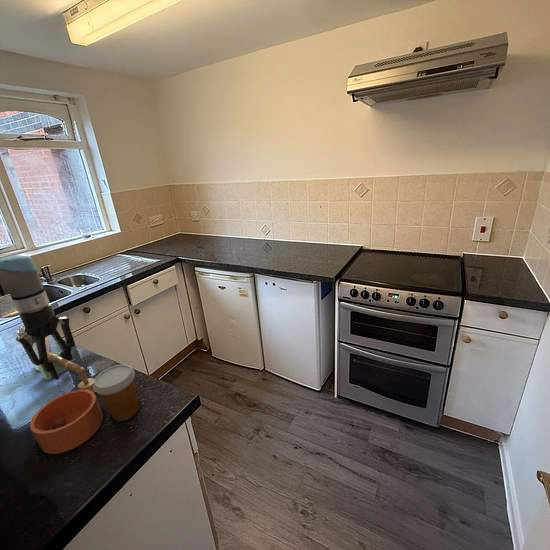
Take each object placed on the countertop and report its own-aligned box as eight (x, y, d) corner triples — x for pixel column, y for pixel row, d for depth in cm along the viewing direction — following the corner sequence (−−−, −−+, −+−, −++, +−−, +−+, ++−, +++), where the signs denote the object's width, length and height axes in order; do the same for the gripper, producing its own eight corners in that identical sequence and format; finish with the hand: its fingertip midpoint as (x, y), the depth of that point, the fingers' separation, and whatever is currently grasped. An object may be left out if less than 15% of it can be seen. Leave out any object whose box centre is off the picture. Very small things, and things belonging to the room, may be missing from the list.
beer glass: (62, 360, 104) (46, 323, 99) (41, 373, 99) (23, 334, 93) (51, 356, 107) (35, 320, 102) (29, 368, 101) (11, 331, 96)
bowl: (27, 459, 68) (16, 438, 66) (59, 412, 81) (50, 394, 79) (89, 448, 70) (80, 427, 67) (111, 404, 82) (104, 385, 80)
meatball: (51, 434, 73) (47, 426, 72) (58, 425, 76) (54, 416, 75) (63, 432, 74) (59, 424, 73) (69, 423, 76) (65, 415, 75)
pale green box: (43, 378, 96) (35, 361, 94) (63, 366, 101) (56, 351, 98) (48, 380, 95) (40, 364, 92) (67, 369, 99) (61, 353, 97)
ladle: (44, 375, 97) (35, 354, 94) (59, 367, 101) (50, 346, 98) (86, 398, 85) (76, 374, 82) (101, 388, 89) (92, 365, 86)
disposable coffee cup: (102, 411, 80) (88, 375, 76) (139, 393, 85) (127, 358, 81) (111, 433, 73) (95, 395, 69) (150, 411, 78) (138, 374, 74)
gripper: (5, 324, 77) (39, 395, 86) (72, 297, 90) (96, 360, 99) (-7, 319, 81) (27, 387, 89) (59, 294, 94) (83, 355, 103)
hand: (63, 373), depth 94 cm, fingers open, 4 cm apart
